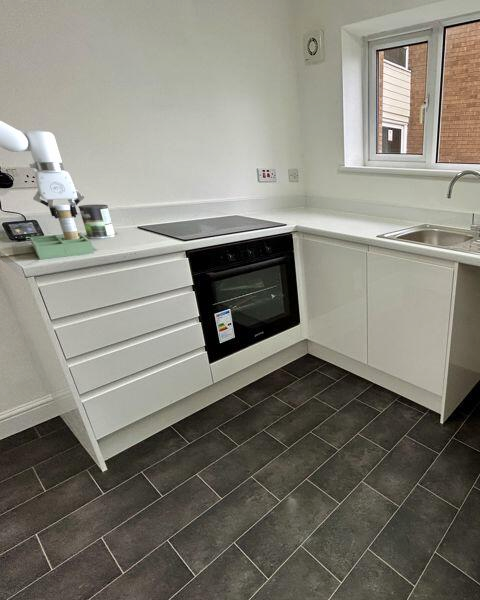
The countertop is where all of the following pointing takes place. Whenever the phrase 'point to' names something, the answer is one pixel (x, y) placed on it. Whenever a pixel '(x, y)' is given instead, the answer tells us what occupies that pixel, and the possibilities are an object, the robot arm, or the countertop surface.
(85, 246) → the grid tray
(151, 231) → the countertop surface
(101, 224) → the coffee can
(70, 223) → the sprinkles bottle
